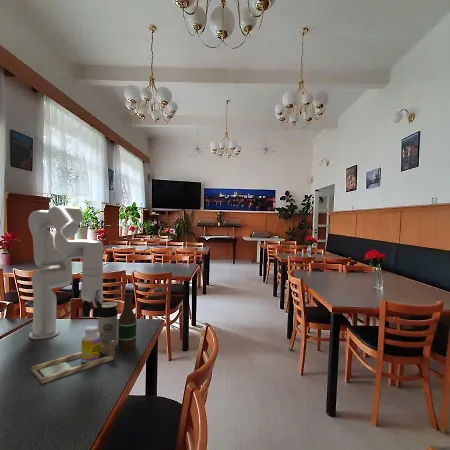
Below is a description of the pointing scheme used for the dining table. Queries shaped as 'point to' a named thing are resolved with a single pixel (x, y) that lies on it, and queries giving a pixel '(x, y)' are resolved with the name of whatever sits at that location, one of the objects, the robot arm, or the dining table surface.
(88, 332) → the supplement bottle
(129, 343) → the beer bottle
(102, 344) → the frame
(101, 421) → the dining table surface
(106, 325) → the travel mug
